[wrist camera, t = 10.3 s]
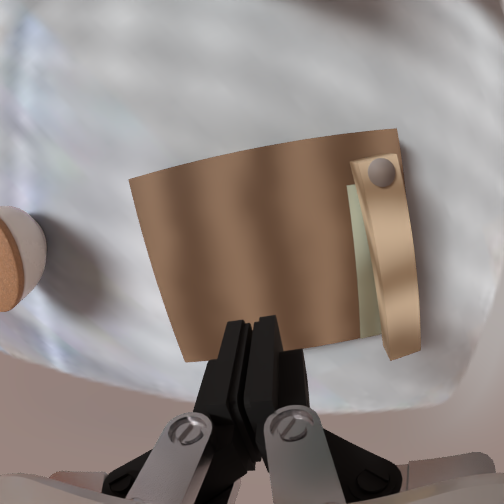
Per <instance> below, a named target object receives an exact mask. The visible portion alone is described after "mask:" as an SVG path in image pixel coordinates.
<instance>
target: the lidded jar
mask: <svg viewBox="0 0 504 504" xmlns="http://www.w3.org/2000/svg"><path fill="white" fill-rule="evenodd" d="M46 254H47V242H46V238H45V234H44V232H43V230H42V228H41V226H40V225H39V224H38V223H37V221H35V220H34V219H33V218H32V217H31V216H30V215H29V214H28V213H27V212H25V211H23V210H21V209H19V208H16V207H12V206H0V312H7V311H9V310H11V309H13V308H14V307H15V306H16V305H17V304H18V303H19V302H20V301H21V300H23V299H24V298H25V297H26V296H27V295H28V294H29V293H30V292H31V291H32V290H33V289H34V288H35V286H36V285H37V284H38V282H39V281H40V279H41V277H42V274H43V272H44V268H45V264H46Z"/></svg>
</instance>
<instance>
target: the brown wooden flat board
mask: <svg viewBox="0 0 504 504" xmlns="http://www.w3.org/2000/svg"><path fill="white" fill-rule="evenodd" d="M384 153H389V154H397V157H398V162H399V166H400V171H401V175H402V180H403V185H404V190H405V182H404V173H403V165H402V158H401V151H400V145H399V139H398V133H397V128H396V129H385V130H374V131H365V132H356V133H348V134H340V135H332V136H325V137H318V138H311V139H305V140H299V141H293V142H287V143H281V144H275V145H270V146H264V147H259V148H254V149H249V150H244V151H239V152H234V153H230V154H225V155H221V156H216V157H212V158H208V159H203V160H199V161H195V162H191V163H187V164H183V165H179V166H175V167H171V168H168V169H164V170H160V171H156V172H153V173H149V174H146V175H142V176H139V177H135V178H132V179H129V184H130V188H131V192H132V196H133V200H134V204H135V208H136V212H137V215H138V219H139V223H140V227H141V230H142V234H143V237H144V241H145V244H146V248H147V251H148V255H149V258H150V261H151V265H152V268H153V271H154V274H155V278H156V281H157V284H158V287H159V290H160V293H161V296H162V299H163V302H164V305H165V308H166V311H167V314H168V317H169V320H170V322H171V325H172V328H173V331H174V334H175V336H176V339H177V342H178V344H179V347H180V350H181V352H182V355H183V358H184V360H185V362H197V361H209V360H211V359H217V358H218V354H219V350H220V347H221V343H222V339H223V335H224V332H225V328H226V324H227V322H228V321H236V320H244V321H245V323H250V324H251V327H252V330H253V325H254V322H258V321H259V318H260V317H264V316H270V315H276V317H277V322H278V326H279V331H280V336H281V340H282V345H283V350H284V351H288V350H294V349H301V348H302V349H304V348H310V347H316V346H322V345H327V344H333V343H338V342H343V341H348V340H353V339H358V338H366V337H371V336H375V335H380V334H382V332H381V323H380V315H379V308H378V300H377V293H376V287H375V280H374V274H373V268H372V262H371V257H370V251H369V246H368V241H367V236H366V231H365V226H364V221H363V216H362V212H361V207H360V203H359V198H358V194H357V190H356V186H355V182H354V178H353V174H352V170H351V166H350V161H354V160H358V159H362V158H366V157H371V156H375V155H379V154H384ZM405 195H406V191H405Z"/></svg>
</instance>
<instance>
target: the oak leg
mask: <svg viewBox="0 0 504 504" xmlns="http://www.w3.org/2000/svg"><path fill="white" fill-rule="evenodd" d="M350 166H351V170H352V174H353V178H354V182H355V186H356V190H357V194H358V198H359V203H360V207H361V212H362V216H363V221H364V226H365V231H366V236H367V241H368V246H369V251H370V257H371V262H372V268H373V274H374V280H375V287H376V293H377V300H378V308H379V315H380V323H381V332H382V341H383V346H384V348H385V350H386V352H387V355H388V357H389V359H390V361H392V360H395V359H398V358H401V357H404V356H406V355H409V354H412V353H415V352H418V351H420V350H421V335H420V310H419V294H418V282H417V271H416V262H415V253H414V245H413V238H412V231H411V224H410V218H409V212H408V206H407V200H406V195H405V190H404V185H403V180H402V175H401V171H400V166H399V162H398V157H397V154H389V153H384V154H379V155H375V156H371V157H366V158H362V159H358V160H354V161H350Z"/></svg>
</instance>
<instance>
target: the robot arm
mask: <svg viewBox="0 0 504 504" xmlns="http://www.w3.org/2000/svg"><path fill="white" fill-rule="evenodd" d="M261 458H263V461H264V463H265V466H266V468H267V471H268V472H269V474H270V480H271V488H272V495H273V503H274V504H504V473H496V471H495V465H494V463H493V460H492V459H491V458H490V457H489V456H488V455H486V454H483V453H481V452H472V453H467V454H461V455H455V456H449V457H442V458H435V459H427V460H418V461H409V464H405V465H395V464H393V463H392V462H390V461H388V460H386V459H384V458H381V457H379V456H377V455H375V454H373V453H371V452H369V451H367V450H364V449H362V448H360V447H358V446H356V445H354V444H352V443H350V442H348V441H346V440H344V439H342V438H341V437H338V436H337V435H335V434H333V433H331V432H329V431H327V430H325V429H323V428H322V425H321V421H320V418H319V417H318V415H317V413H316V412H315V411H314V410H312V409H311V408H310V404H309V392H308V381H307V373H306V367H305V360H304V354H303V349H302V348H301V349H294V350H288V351H284V350H283V345H282V340H281V336H280V331H279V326H278V322H277V317H276V315H270V316H264V317H260V318H259V321H258V322H254V325H253V330H252V327H251V324H250V323H245V321H244V320H236V321H228V322H227V324H226V328H225V332H224V335H223V339H222V343H221V347H220V350H219V354H218V358H217V359H211V360H209V361H208V363H207V367H206V370H205V373H204V376H203V380H202V383H201V386H200V390H199V393H198V396H197V400H196V403H195V407H194V410H193V412H189V413H184V414H181V415H179V416H177V417H175V418H173V419H172V420H171V421H169V423H168V424H167V425H166V427H165V428H164V430H163V432H162V433H161V435H160V437H159V439H158V441H157V442H156V444H155V446H154V448H153V449H152V450H150V451H148V452H146V453H145V454H143V455H141V456H139V457H137V458H136V459H134V460H132V461H130V462H128V463H126V464H125V465H123V466H121V467H119V468H117V469H116V470H114V471H112V472H111V473H109V475H107V474H106V472H70V471H59V472H56V473H54V474H52V475H51V476H50V477H49V478H47V477H43V476H38V475H34V474H24V473H12V474H4V475H0V504H235V501H236V498H237V495H238V491H239V488H240V484H241V479H240V478H241V477H242V476H244V475H245V474H246V473H247V471H253V470H255V464H256V462H258V461H259V462H260V461H261Z"/></svg>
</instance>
